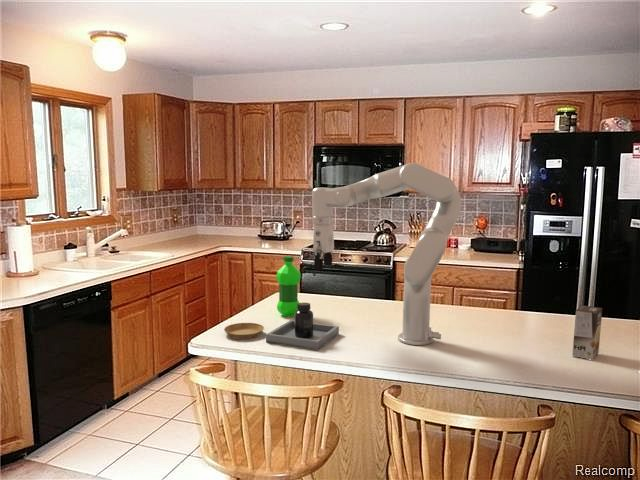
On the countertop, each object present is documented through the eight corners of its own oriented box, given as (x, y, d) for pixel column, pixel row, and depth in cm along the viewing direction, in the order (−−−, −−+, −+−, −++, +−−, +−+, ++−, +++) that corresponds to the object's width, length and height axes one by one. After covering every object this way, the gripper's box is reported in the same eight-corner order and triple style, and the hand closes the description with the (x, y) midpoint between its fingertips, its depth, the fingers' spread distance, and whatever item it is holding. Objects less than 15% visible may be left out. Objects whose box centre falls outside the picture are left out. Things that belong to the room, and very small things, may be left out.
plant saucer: (256, 342, 187) (256, 335, 187) (217, 339, 190) (217, 332, 190) (269, 330, 201) (269, 324, 201) (232, 328, 204) (232, 321, 204)
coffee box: (592, 361, 171) (596, 313, 169) (571, 356, 175) (575, 309, 173) (599, 354, 178) (602, 307, 176) (578, 349, 182) (582, 304, 180)
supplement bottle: (314, 333, 195) (314, 301, 193) (312, 339, 188) (312, 306, 187) (295, 332, 195) (295, 301, 194) (293, 338, 189) (293, 306, 187)
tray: (338, 334, 197) (338, 326, 197) (317, 350, 179) (317, 341, 178) (290, 327, 205) (290, 320, 204) (266, 342, 186) (266, 334, 186)
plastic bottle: (273, 312, 226) (273, 255, 223) (297, 311, 229) (297, 254, 226) (278, 318, 217) (278, 259, 213) (303, 317, 220) (303, 258, 217)
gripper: (324, 223, 183) (324, 272, 185) (340, 219, 199) (340, 264, 201) (304, 223, 186) (305, 270, 188) (321, 219, 202) (322, 263, 204)
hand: (323, 267), depth 194 cm, fingers open, 9 cm apart
